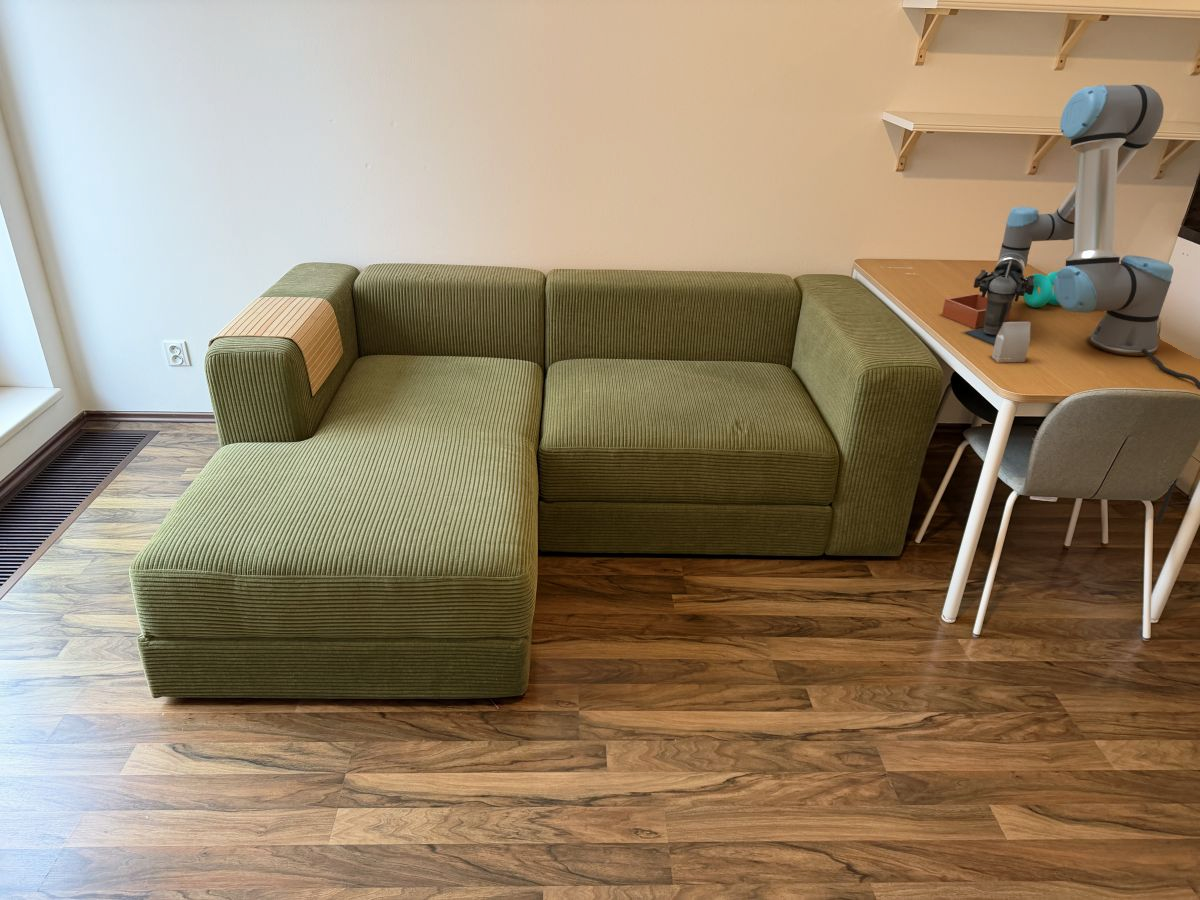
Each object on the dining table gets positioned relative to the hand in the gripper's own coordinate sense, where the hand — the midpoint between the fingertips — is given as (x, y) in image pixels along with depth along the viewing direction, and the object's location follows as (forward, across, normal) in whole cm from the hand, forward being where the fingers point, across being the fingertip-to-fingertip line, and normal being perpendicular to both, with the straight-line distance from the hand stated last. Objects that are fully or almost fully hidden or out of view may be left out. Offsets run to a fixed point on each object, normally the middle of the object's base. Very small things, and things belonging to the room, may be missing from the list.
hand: (1000, 294), depth 209 cm
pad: (-5, 0, -13) cm, 14 cm away
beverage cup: (-5, 0, -12) cm, 13 cm away
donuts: (-40, -11, -14) cm, 43 cm away
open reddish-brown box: (-18, +6, -14) cm, 23 cm away
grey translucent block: (+11, -6, -14) cm, 18 cm away
